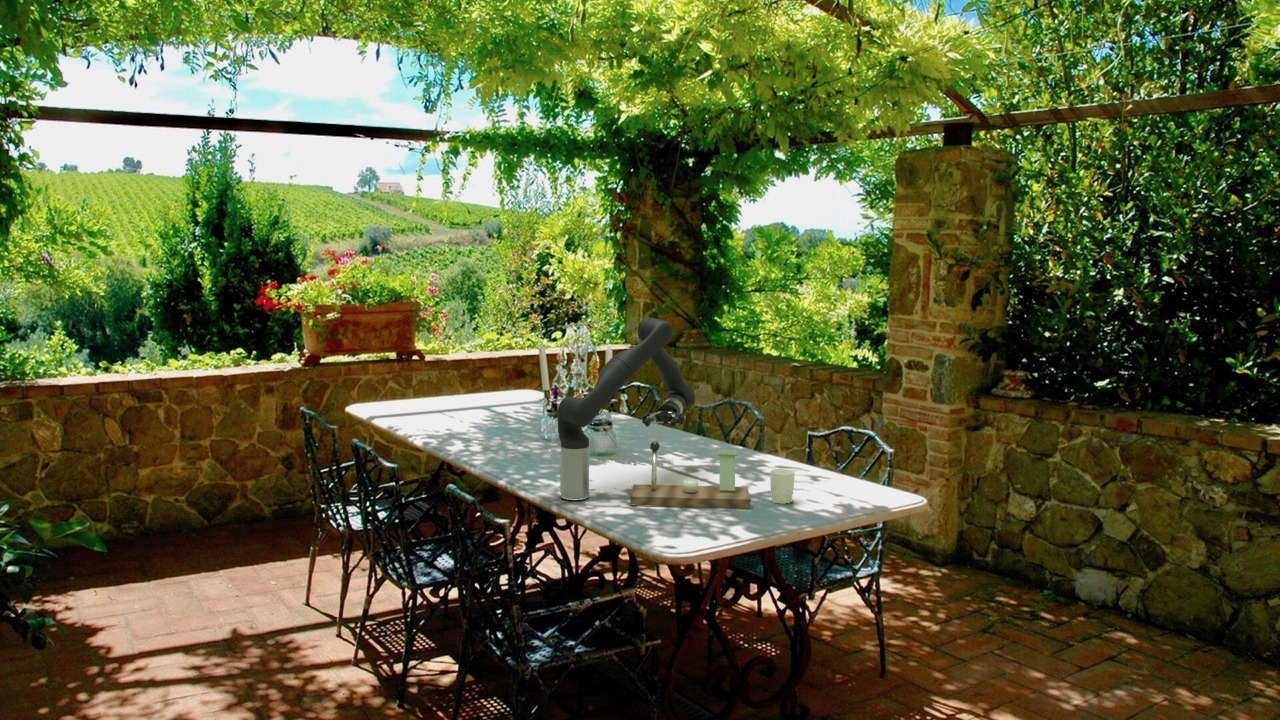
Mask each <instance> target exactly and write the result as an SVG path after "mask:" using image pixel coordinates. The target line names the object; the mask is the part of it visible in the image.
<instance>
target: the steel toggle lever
mask: <svg viewBox="0 0 1280 720" xmlns="http://www.w3.org/2000/svg"><path fill="white" fill-rule="evenodd" d="M660 446H661V445H660V443H659V442H657V441H652V442H651V443H650V445H649V447H650V450H651V452H652V453H651V481H650V482H651V483H650V485H651V489H656V485H657V473H658V472H657V470H658V469H657V468H658V467H657V464H658V451H659V450H660Z"/></svg>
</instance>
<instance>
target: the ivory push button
mask: <svg viewBox="0 0 1280 720" xmlns="http://www.w3.org/2000/svg"><path fill="white" fill-rule="evenodd" d="M682 485H683V491H684V492H687V493H695V492H698V486H699V480H697V479H684V480H682Z"/></svg>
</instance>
